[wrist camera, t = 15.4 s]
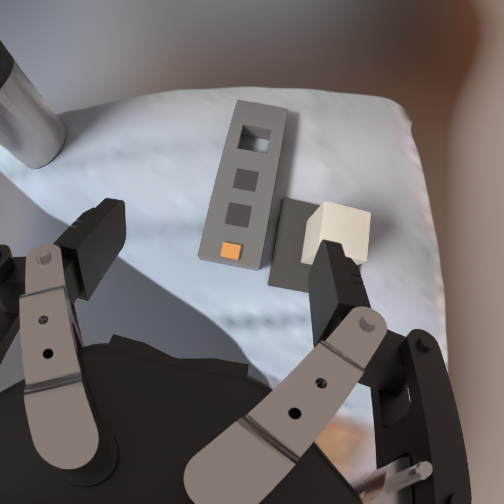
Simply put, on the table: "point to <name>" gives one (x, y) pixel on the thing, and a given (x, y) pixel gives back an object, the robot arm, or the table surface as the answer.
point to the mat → (291, 247)
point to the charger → (338, 231)
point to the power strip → (243, 189)
